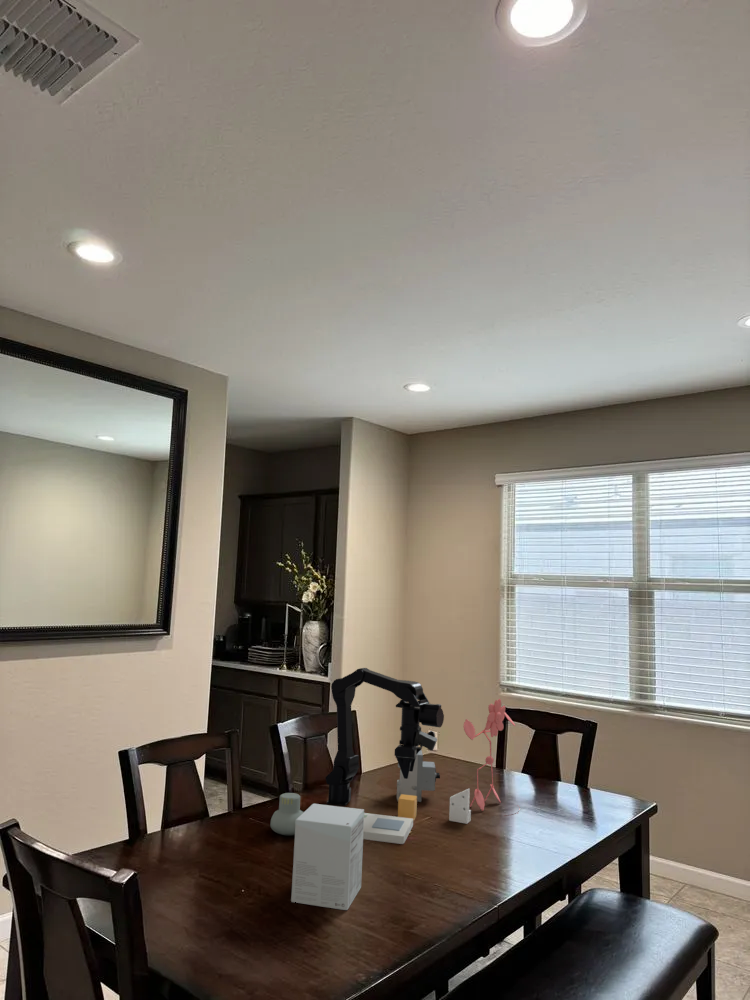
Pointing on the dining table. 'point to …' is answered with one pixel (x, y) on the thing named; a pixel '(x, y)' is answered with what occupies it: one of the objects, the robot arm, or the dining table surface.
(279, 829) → the air freshener
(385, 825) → the breaker panel
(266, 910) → the dining table surface
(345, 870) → the supplement box
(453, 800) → the white wedge bracket
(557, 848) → the dining table surface
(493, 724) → the figurine
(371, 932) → the dining table surface
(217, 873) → the dining table surface
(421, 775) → the circuit breaker
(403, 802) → the cap
